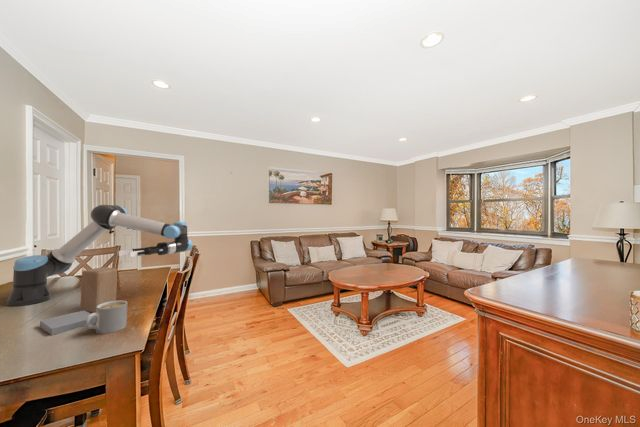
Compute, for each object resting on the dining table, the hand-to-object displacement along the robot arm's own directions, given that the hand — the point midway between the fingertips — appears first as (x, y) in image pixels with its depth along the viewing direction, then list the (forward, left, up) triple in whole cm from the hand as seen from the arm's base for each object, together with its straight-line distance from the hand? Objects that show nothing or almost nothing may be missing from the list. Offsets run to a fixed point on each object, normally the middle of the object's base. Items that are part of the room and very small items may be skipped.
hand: (124, 254), depth 134 cm
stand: (+12, -24, -26) cm, 38 cm away
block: (+1, -10, -27) cm, 28 cm away
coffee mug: (+30, -18, -27) cm, 44 cm away
